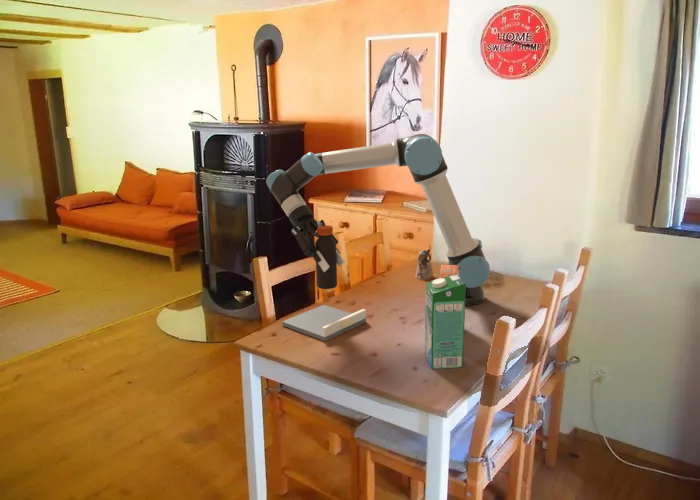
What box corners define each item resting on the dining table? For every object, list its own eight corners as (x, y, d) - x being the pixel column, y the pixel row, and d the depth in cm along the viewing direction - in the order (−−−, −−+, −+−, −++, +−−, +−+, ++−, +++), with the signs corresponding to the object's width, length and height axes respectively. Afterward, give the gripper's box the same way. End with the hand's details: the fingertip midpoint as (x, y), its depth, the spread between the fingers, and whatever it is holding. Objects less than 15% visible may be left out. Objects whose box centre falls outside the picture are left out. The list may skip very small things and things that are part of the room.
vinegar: (317, 290, 184) (315, 230, 178) (316, 283, 190) (313, 225, 185) (338, 288, 184) (336, 229, 179) (336, 282, 191) (334, 224, 185)
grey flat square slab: (366, 322, 193) (366, 309, 191) (326, 341, 178) (325, 328, 177) (323, 308, 206) (323, 296, 205) (282, 325, 192) (281, 313, 190)
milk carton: (424, 355, 168) (425, 274, 161) (454, 353, 169) (457, 273, 162) (431, 369, 159) (433, 285, 153) (463, 367, 160) (465, 283, 153)
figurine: (413, 275, 240) (413, 248, 237) (428, 273, 242) (429, 246, 239) (419, 280, 234) (419, 252, 231) (435, 278, 235) (435, 251, 232)
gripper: (312, 213, 198) (348, 266, 192) (270, 223, 185) (307, 280, 178) (323, 199, 194) (360, 253, 187) (280, 209, 180) (318, 267, 174)
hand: (334, 266), depth 183 cm, fingers closed on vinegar, 6 cm apart
